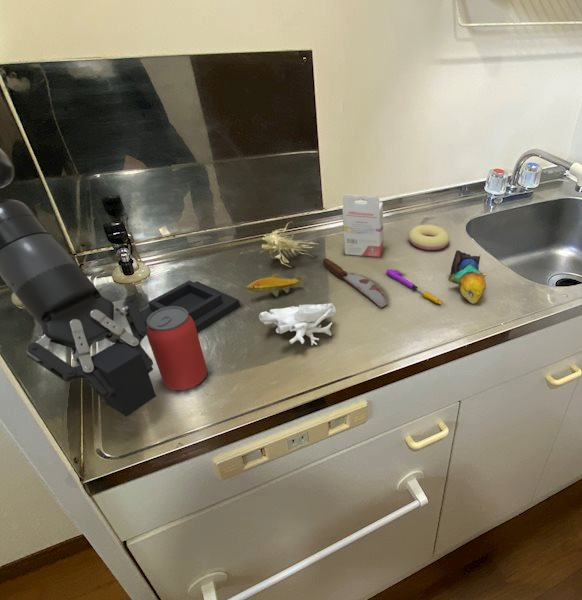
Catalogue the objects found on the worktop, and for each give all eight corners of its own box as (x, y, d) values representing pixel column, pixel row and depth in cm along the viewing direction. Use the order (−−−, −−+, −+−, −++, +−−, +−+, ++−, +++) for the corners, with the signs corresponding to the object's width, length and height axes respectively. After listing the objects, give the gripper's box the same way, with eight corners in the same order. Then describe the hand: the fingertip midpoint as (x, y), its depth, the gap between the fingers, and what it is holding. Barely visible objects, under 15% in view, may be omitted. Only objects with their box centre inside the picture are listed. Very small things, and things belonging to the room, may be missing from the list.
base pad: (178, 344, 81) (173, 328, 80) (135, 321, 86) (129, 306, 84) (240, 306, 91) (237, 290, 89) (198, 287, 96) (194, 272, 94)
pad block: (126, 417, 63) (107, 373, 58) (105, 403, 64) (85, 359, 60) (156, 396, 66) (141, 352, 61) (136, 383, 68) (119, 340, 63)
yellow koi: (247, 301, 91) (247, 279, 89) (244, 296, 92) (244, 273, 90) (307, 293, 97) (309, 272, 95) (303, 289, 99) (305, 267, 97)
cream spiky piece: (324, 271, 108) (333, 233, 106) (272, 273, 96) (281, 230, 93) (291, 254, 114) (299, 218, 111) (238, 255, 102) (246, 214, 99)
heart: (348, 304, 83) (291, 322, 74) (348, 340, 85) (293, 360, 77) (306, 289, 90) (250, 303, 82) (307, 322, 92) (253, 339, 84)
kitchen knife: (399, 298, 94) (379, 304, 91) (398, 305, 95) (378, 312, 92) (340, 253, 107) (321, 257, 104) (339, 260, 108) (320, 264, 105)
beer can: (154, 387, 73) (131, 326, 66) (180, 360, 78) (162, 300, 72) (192, 396, 72) (173, 334, 65) (216, 367, 77) (200, 307, 70)
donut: (422, 239, 122) (401, 247, 115) (422, 221, 120) (400, 228, 113) (456, 245, 116) (435, 254, 109) (456, 226, 114) (436, 234, 107)
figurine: (482, 307, 94) (487, 280, 90) (444, 301, 95) (447, 275, 91) (485, 278, 103) (489, 252, 99) (450, 273, 104) (453, 248, 100)
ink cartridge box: (383, 247, 113) (384, 189, 104) (380, 258, 109) (380, 197, 100) (348, 244, 113) (346, 186, 105) (343, 254, 109) (341, 194, 101)
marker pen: (384, 273, 102) (438, 306, 93) (385, 268, 102) (440, 301, 93) (393, 272, 104) (447, 304, 95) (394, 267, 104) (448, 299, 94)
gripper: (-18, 292, 53) (81, 412, 54) (106, 244, 63) (186, 346, 65) (-19, 315, 58) (72, 424, 60) (95, 267, 68) (170, 361, 70)
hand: (131, 383), depth 62 cm, fingers closed on pad block, 4 cm apart
